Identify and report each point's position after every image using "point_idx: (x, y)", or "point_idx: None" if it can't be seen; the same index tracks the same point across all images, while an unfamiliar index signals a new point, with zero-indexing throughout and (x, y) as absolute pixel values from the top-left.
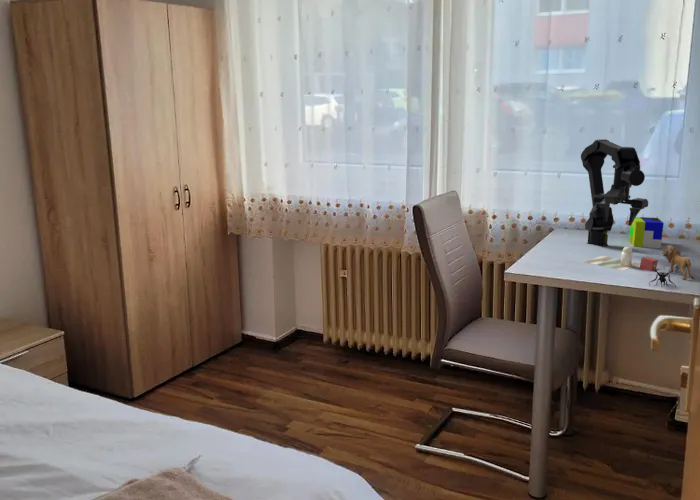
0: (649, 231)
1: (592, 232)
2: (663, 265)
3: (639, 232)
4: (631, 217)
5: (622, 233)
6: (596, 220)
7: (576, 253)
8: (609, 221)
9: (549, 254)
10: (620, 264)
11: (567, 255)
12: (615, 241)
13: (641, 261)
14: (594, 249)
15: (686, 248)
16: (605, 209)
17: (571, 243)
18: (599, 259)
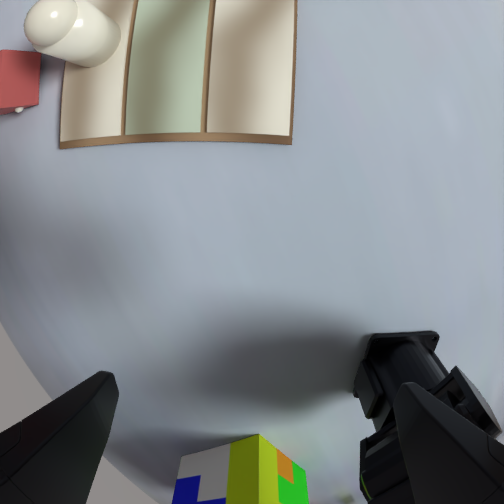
0: (209, 497)
1: (441, 380)
2: (21, 227)
3: (243, 486)
4: (30, 426)
5: (344, 499)
6: (466, 416)
7: (431, 144)
8: (381, 467)
9: (491, 56)
10: (115, 22)
11: (441, 75)
12: (341, 446)
13: (14, 51)
14: (387, 293)
15: (131, 469)
16: (479, 493)
17: (482, 316)
18: (257, 41)
